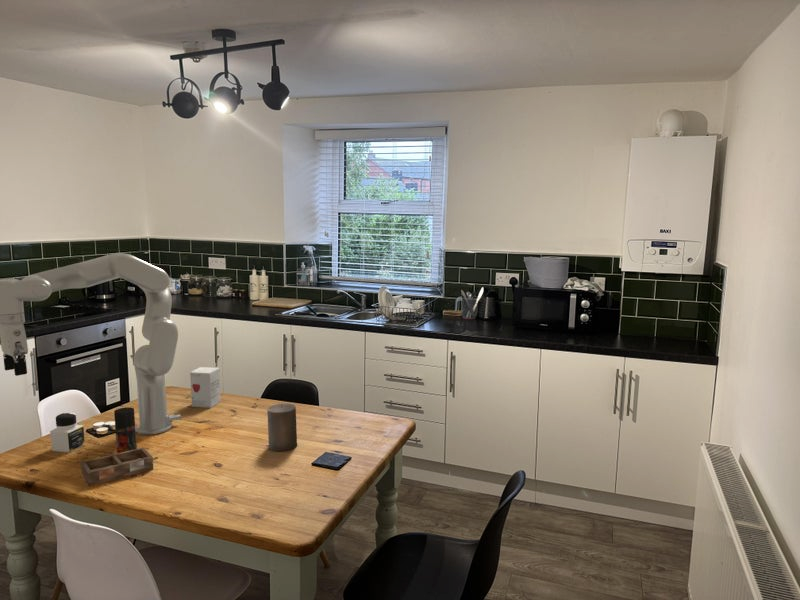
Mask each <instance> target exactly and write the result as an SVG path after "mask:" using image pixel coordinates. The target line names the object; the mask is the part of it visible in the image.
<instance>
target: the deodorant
mask: <svg viewBox="0 0 800 600" xmlns="http://www.w3.org/2000/svg"><path fill="white" fill-rule="evenodd" d="M135 419H136V418H135V408H134V407H129V406H128V407H122V408H121V407H120V408H117V409H115V410H114V426H115V428H114V429H115V439H116V440H115V442H116V454H117V453H121V452H125V451H130V450H134V449H138V448H137V435H136V434H137V433H136V431H135V428H136V420H135Z"/></svg>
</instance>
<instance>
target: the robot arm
mask: <svg viewBox="0 0 800 600" xmlns="http://www.w3.org/2000/svg"><path fill="white" fill-rule="evenodd" d="M117 279H123V280H125V281H127V282H130V283H131V284H134V285H136V286H137V287H139V288H140V289H141V290H142V291H143V292H144V294H145V298H146V299H145V300H146V304H145V313H144V317H143V321H142V322H143V323H142V327H141V334H142V336H143V337H144V339H146V340H147V341H149V343H148V344H145V345H141V346H140V347H139V348H138V349H137V350H136V351H135V352H134V355H133V367H134V371H135V377H136V378H135V379H136V386H137V388H136V389H137V403H138V407H137V408H138V419H139V420H138V421H139V424H138V425H137V426H135V431H136V434H138V435H139V434H140V435H146V436H147V435H149V436H150V435H156V434H157V435H158V434H162V433H165V432H167V431H169V430H171V429H172V428H173V421H179V420H181V419H182V416H181V414H174V413H173V414H170V415H169V414H168V409H167V407H168V406H167V390H166V387H167V385H166V377H165V375H166V374H167V373H169V371H170V370H171V369H172V367H173V365H174V361H175V355H176V350H177V344H178V339H179V331H178V330H179V329H178V326H177V324H175V322H174V321H172V320H171V319H170V318H171V312H172V303H173V298H172V293H171V290H170V288H169V286H170V275H169V274H168V273H167V272H166V271H165V270H164V269H162V268H160V267H158V266H155V265H152V264H151V263H148V262H147V261H144V260H142V259H140V258H138V257H136V256H135V255H133V254H129V253H122V252H115V253H111V254H106V255H103V256H100V257H96V258H92V259H88V260H84V261H80V262H77V263H73V264H72V263H71V264H68V265H65V266H61V267H55V268H53V269H49V270H44V271H40V272H37V273H33V274H30V275H27V276H25V277H23V278H22V279H16V278H3V279H0V348H1V351H2V354H3V355H2V356H3V366H4V371H12V370H14V376H15V377H16V376H22V375H26V374H28V369H27V358H26V355H28V353H29V347H28V341H27V333H26V329H25V325H24V323H25V322H26V318H25V309H24V307H25V306H24V302H42V301H45V300H47V299H48V298H49V297H50V296H51V294H53V293H55V292H58V291H64V290H69V289H70V290H71V289H84V288H86V289H87V288H90V287H93V286H96V285H99V284H103V283H106V282H109V281H113V280H117Z"/></svg>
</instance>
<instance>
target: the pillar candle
mask: <svg viewBox="0 0 800 600" xmlns="http://www.w3.org/2000/svg"><path fill="white" fill-rule="evenodd" d="M266 411H267V436H268V449H269V450H271V451H275V452H283V451H285V452H286V451H291V450H294V449H296V448H297V447H298V436H297V435H298V434H297V433H298V432H297V408H296V405H294V404H292V403H277V404H272V405H270V406H268V407H267V409H266Z"/></svg>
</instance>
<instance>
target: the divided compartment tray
mask: <svg viewBox="0 0 800 600" xmlns="http://www.w3.org/2000/svg"><path fill="white" fill-rule="evenodd" d="M80 467H81V468H80V469H81V476H82V475H83V476H82V477H83V479H84V480H85V482H86V483H87V485H88V486H89V487H92V486H96V485H99V484H102V482H103V483H107V482H111V481H114V479H115V480H118V479H122V478H126V477H129V476H133V475H136V474H137V475H138V474H141V473H145V472H148V471H152V470H154V459H153V456H152V455H151V453H150V452H148V451H147V449H145V447H143V446H142V447H138V448H137V449H134V450H130V451H125V452H121V453H117V452H116V453H113V454H110V455H106V456H105V455H104V456H101V457H97V458H92V459H88V460H85V461H84V460H83V461H80ZM110 480H111V481H110ZM106 481H107V482H106ZM95 484H96V485H95ZM91 485H92V486H91Z"/></svg>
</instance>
